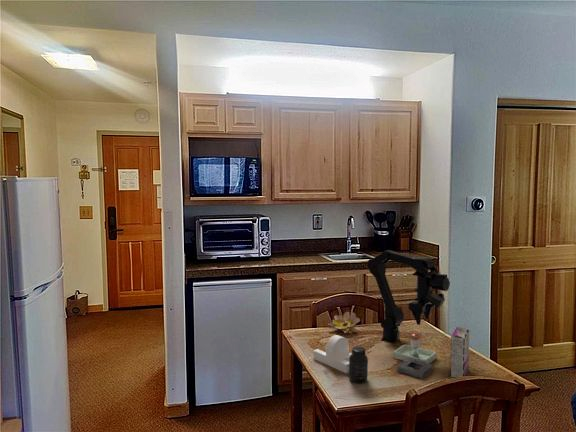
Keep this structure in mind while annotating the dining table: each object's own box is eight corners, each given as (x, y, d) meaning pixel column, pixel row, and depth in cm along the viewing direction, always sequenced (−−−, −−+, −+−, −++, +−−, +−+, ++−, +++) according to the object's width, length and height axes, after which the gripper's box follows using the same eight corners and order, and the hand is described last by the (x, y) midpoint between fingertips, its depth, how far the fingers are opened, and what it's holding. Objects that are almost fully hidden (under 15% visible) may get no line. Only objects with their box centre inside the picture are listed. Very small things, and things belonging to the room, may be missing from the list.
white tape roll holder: (362, 366, 167) (362, 339, 166) (346, 374, 160) (346, 346, 160) (329, 352, 180) (329, 328, 179) (313, 359, 174) (313, 333, 173)
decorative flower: (322, 325, 209) (326, 306, 209) (338, 326, 216) (342, 307, 216) (342, 336, 197) (347, 315, 197) (358, 337, 204) (363, 317, 204)
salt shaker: (406, 356, 174) (407, 334, 174) (411, 353, 178) (411, 331, 177) (417, 359, 171) (418, 337, 171) (422, 356, 175) (422, 334, 174)
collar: (397, 371, 162) (397, 366, 162) (408, 362, 170) (408, 358, 170) (422, 379, 156) (422, 373, 156) (432, 370, 163) (432, 365, 163)
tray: (393, 357, 175) (393, 351, 175) (404, 349, 183) (404, 344, 183) (425, 367, 166) (426, 360, 166) (436, 358, 174) (436, 352, 174)
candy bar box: (455, 366, 167) (456, 326, 166) (468, 369, 164) (470, 328, 163) (449, 377, 157) (451, 334, 156) (463, 380, 155) (465, 337, 153)
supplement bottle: (347, 376, 158) (347, 345, 157) (364, 375, 159) (365, 344, 158) (351, 384, 151) (351, 352, 150) (369, 384, 152) (370, 352, 151)
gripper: (434, 294, 169) (433, 331, 170) (450, 285, 183) (448, 320, 184) (408, 289, 176) (407, 325, 177) (425, 281, 190) (424, 315, 192)
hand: (422, 321), depth 182 cm, fingers open, 9 cm apart
